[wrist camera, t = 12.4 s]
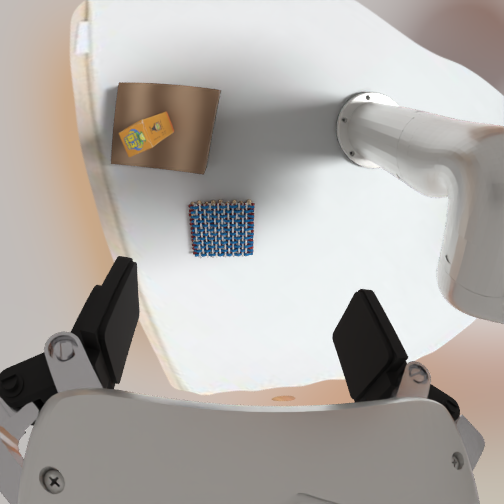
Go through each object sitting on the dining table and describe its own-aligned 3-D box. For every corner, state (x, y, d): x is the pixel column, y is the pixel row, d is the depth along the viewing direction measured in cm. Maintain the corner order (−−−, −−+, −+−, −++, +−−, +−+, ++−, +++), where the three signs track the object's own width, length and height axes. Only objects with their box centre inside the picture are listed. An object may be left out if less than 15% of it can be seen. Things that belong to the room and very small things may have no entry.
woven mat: (188, 199, 44) (186, 203, 42) (254, 197, 45) (255, 202, 43) (193, 253, 50) (192, 260, 48) (252, 252, 50) (253, 259, 49)
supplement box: (144, 120, 33) (116, 131, 24) (167, 110, 32) (144, 117, 24) (153, 141, 34) (127, 159, 26) (175, 132, 34) (156, 146, 26)
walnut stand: (220, 90, 35) (219, 89, 31) (206, 167, 41) (203, 174, 38) (129, 82, 33) (119, 82, 29) (120, 157, 39) (111, 163, 35)
